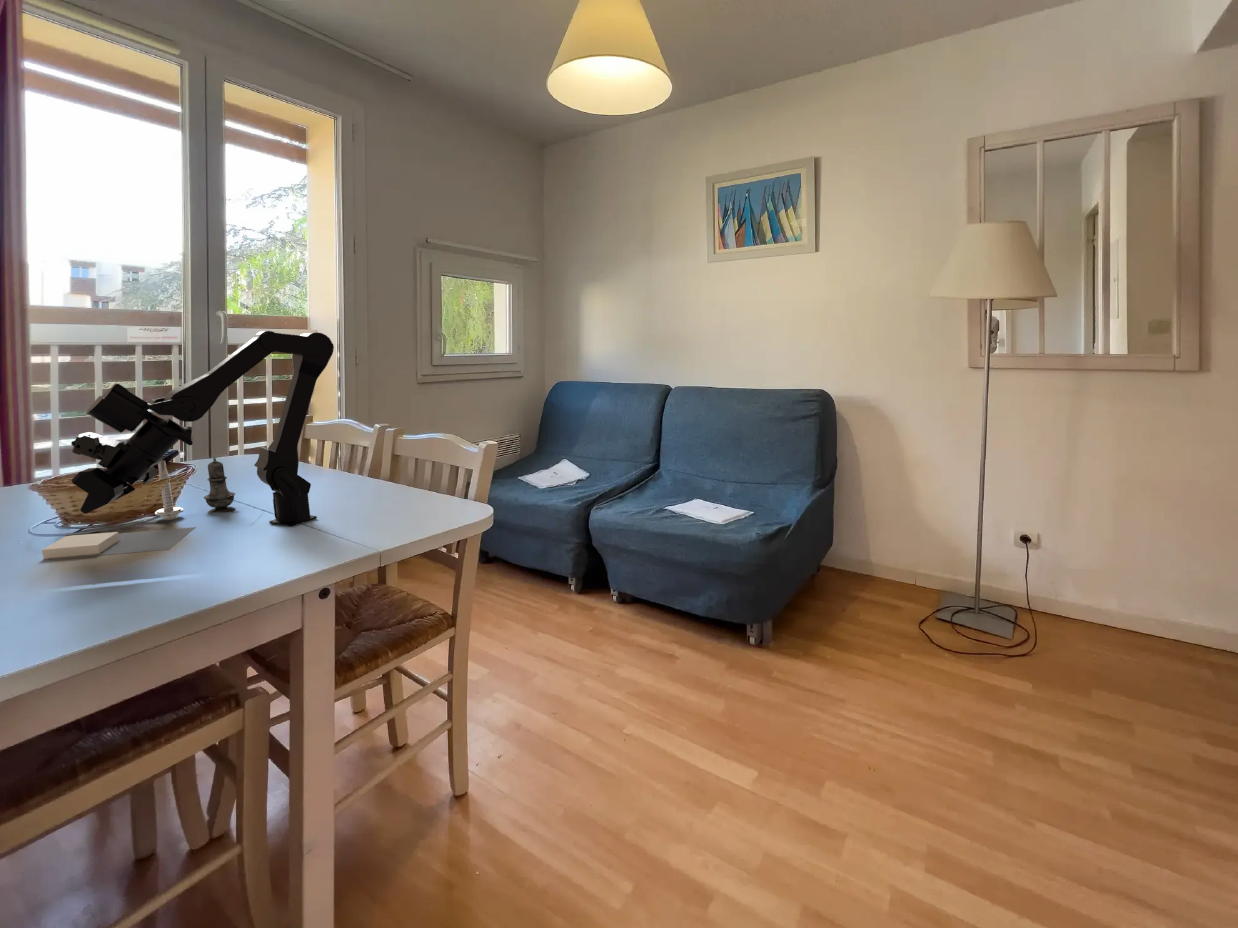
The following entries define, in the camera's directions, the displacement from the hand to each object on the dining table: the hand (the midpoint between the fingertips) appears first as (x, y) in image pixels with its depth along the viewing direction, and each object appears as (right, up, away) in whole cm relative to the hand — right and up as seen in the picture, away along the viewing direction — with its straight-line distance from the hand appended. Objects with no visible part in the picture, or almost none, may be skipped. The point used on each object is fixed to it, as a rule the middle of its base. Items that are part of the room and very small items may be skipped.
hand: (83, 511), depth 113 cm
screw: (+1, -4, +20) cm, 21 cm away
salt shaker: (+7, -2, +27) cm, 28 cm away
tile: (+3, -6, +2) cm, 7 cm away
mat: (+4, -6, +5) cm, 9 cm away
